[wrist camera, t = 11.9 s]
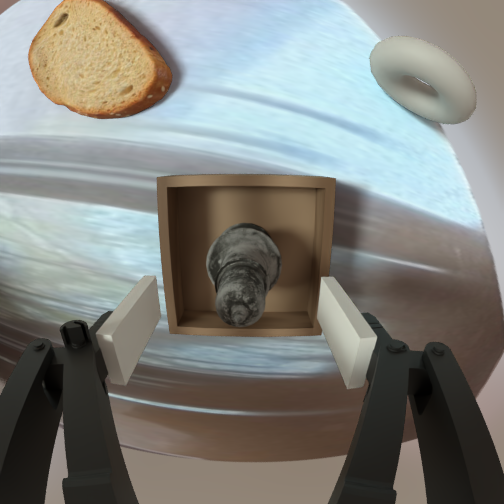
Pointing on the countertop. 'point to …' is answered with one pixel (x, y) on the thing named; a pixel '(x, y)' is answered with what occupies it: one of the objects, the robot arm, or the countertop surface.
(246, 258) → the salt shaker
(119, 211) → the countertop surface
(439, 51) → the donut
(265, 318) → the box
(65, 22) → the slice of bread
